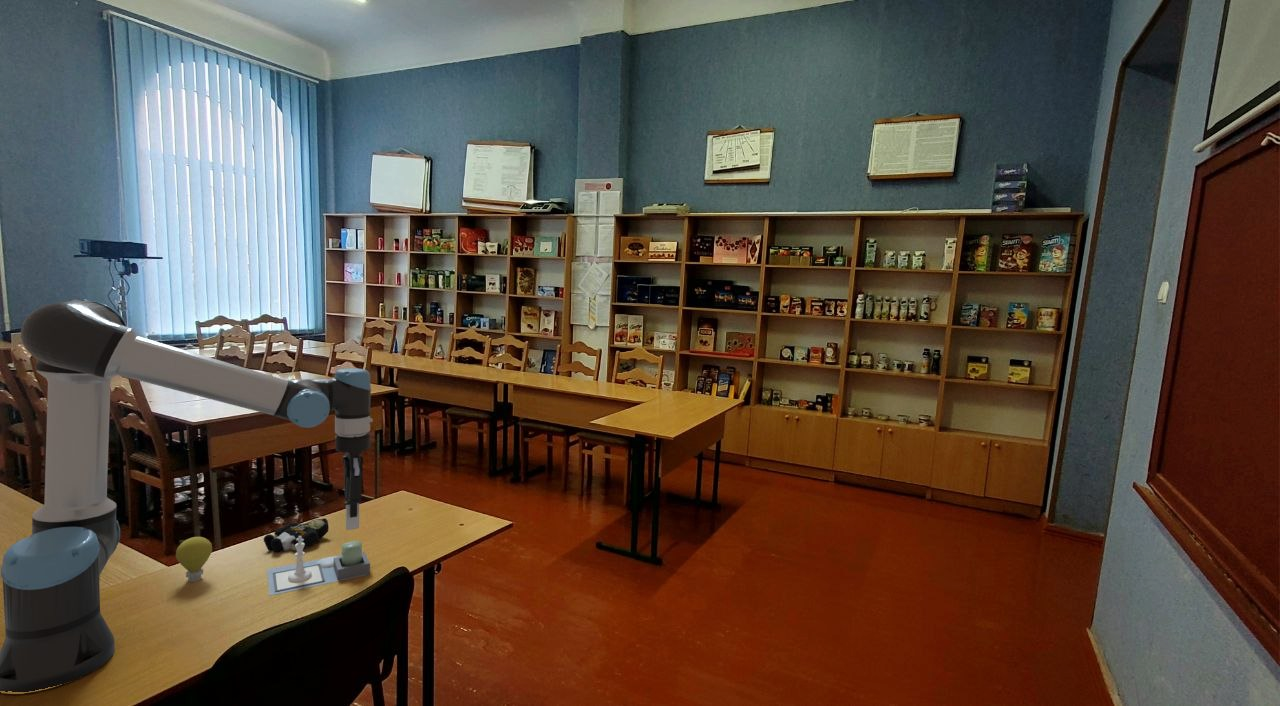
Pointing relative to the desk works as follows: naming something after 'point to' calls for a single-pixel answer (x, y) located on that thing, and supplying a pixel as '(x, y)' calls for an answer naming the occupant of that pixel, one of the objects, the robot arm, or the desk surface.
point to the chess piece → (299, 564)
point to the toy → (296, 535)
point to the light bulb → (194, 556)
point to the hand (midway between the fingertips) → (352, 528)
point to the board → (316, 574)
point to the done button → (351, 553)
